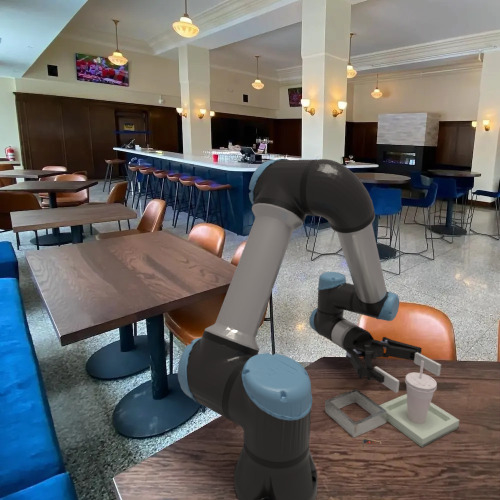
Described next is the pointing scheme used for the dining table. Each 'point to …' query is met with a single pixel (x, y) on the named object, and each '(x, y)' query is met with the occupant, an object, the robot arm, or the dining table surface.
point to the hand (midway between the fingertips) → (419, 378)
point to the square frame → (347, 423)
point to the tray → (423, 433)
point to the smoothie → (419, 395)
